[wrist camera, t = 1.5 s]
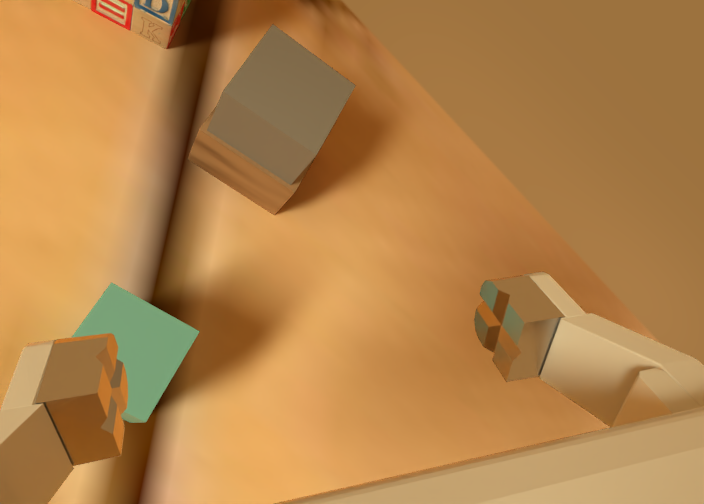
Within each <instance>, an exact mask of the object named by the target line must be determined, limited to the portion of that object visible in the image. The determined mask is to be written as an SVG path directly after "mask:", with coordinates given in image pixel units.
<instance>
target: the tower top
mask: <svg viewBox="0 0 704 504" xmlns="http://www.w3.org/2000/svg"><path fill="white" fill-rule="evenodd" d="M355 86H356V85H354V84H353V83H352V82H350V81H349V80H348V79H346V78H345V77H344V76H342V75H341V74H339V73H338V72H337V71H335V70H334V69H333V68H331V67H330V66H329V65H327V64H326V63H325V62H323V61H322V60H321V59H319V58H318V57H317V56H315V55H314V54H312V53H311V52H310V51H308V50H307V49H306V48H304V47H303V46H302V45H300V44H299V43H298V42H296V41H295V40H294V39H292V38H291V37H290V36H288V35H287V34H285V33H284V32H283V31H281V30H280V29H279V28H277V27H276V26H275V25H273V24H272V26H271V27H270V28H269V30H268V31H267V33H266V34H265V35H264V37H263V38H262V39H261V41H260V42H259V43H258V45H257V46H256V47H255V49H254V50H253V51H252V53H251V54H250V55H249V57H248V58H247V60H246V61H245V62H244V64H243V65H242V66H241V68H240V69H239V70H238V72H237V73H236V74H235V76H234V77H233V78H232V80H231V81H230V82H229V84H228V85H227V87H226V88H225V89H224V91H223V92H222V95H221V97H220V100H219V102H218V105H217V107H216V109H215V112H214V114H213V117H212V119H211V122H210V124H209V126H208V129H207V131H209V132H210V133H212V134H213V135H215V136H216V137H218V138H220V139H221V140H223V141H224V142H226V143H227V144H229V145H230V146H232V147H233V148H235V149H236V150H238V151H239V152H241V153H242V154H244V155H245V156H247V157H249V158H250V159H252V160H253V161H255V162H256V163H258V164H259V165H261V166H262V167H264V168H265V169H267V170H268V171H270V172H271V173H273V174H274V175H276V176H278V177H279V178H281V179H282V180H284V181H285V182H287V183H288V184H290V185H291V184H292V183H293V182H294V181H295V179H296V178H297V177H298V176H299V175H300V174H301V173H302V171H303V170H304V169H305V168H306V167H307V166H308V164H309V163H310V162H311V161H312V160H313V159H314V157H315V156H316V155H317V153H318V152H319V150H320V148H321V146H322V145H323V143H324V141H325V139H326V137H327V136H328V134H329V132H330V130H331V129H332V127H333V125H334V123H335V121H336V120H337V118H338V116H339V114H340V113H341V111H342V109H343V107H344V105H345V104H346V102H347V100H348V98H349V97H350V95H351V93H352V91H353V89H354V88H355Z"/></svg>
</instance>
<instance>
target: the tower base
mask: <svg viewBox="0 0 704 504" xmlns="http://www.w3.org/2000/svg"><path fill="white" fill-rule="evenodd" d="M216 107H217V106H216ZM216 107H215V109H216ZM215 109H214V110H213V111H212V113H211V114H210V115H209V117H208V118H207V119H206V121H205V122H204V123H203V125H202V126H201V127H200V129H199V131H198V133H197V136H196V138H195V141H194V144H193V146H192V149H191V151H190V154H189V157H188V160H189V161H191V162H192V163H194V164H196V165H197V166H199V167H200V168H202V169H203V170H205V171H206V172H208V173H210V174H211V175H213V176H214V177H216V178H217V179H219V180H220V181H222V182H223V183H225V184H227V185H228V186H230V187H231V188H233V189H234V190H236V191H237V192H239V193H241V194H242V195H244V196H245V197H247V198H248V199H250V200H251V201H253V202H255V203H256V204H258V205H259V206H261V207H262V208H264V209H265V210H267V211H268V212H270V213H272V214H273V215H275V214H276V213H277V212H278V211H279V210H280V208H281V207H282V206H283V205H284V204H285V203H286V202H287V201H288V200H289V199H290V197H291V196H292V195H293V194H294V193H295V191H296V190H297V188H298V186H299V185H300V183H301V181H302V179H303V178H304V176H305V174H306V172H307V171H308V169H309V167H310V166H311V164H312V162H313V160H314V159H315V157H316V156H315V157H314V159H313V160H312V161H311V162H310V163H309V164H308V166H307V167H306V168H305V169H304V170H303V171H302V173H301V174H300V175H299V176H298V177H297V178H296V179H295V181H294V182H293V183H292V184H291V185H290V184H288V183H287V182H285V181H284V180H282V179H281V178H279V177H278V176H276V175H274V174H273V173H271V172H270V171H268V170H267V169H265V168H264V167H262V166H261V165H259V164H258V163H256V162H255V161H253V160H252V159H250V158H249V157H247V156H245V155H244V154H242V153H241V152H239V151H238V150H236V149H235V148H233V147H232V146H230V145H229V144H227V143H226V142H224V141H223V140H221V139H220V138H218V137H216V136H215V135H213V134H212V133H210V132H209V131H207V129H208V126H209V124H210V122H211V119H212V117H213V114H214V112H215ZM336 121H337V120H336ZM336 121H335V122H336ZM334 124H335V123H334ZM333 126H334V125H333ZM332 128H333V127H332ZM330 131H331V130H330ZM329 133H330V132H329ZM328 135H329V134H328ZM326 138H327V137H326ZM325 140H326V139H325ZM321 147H322V146H321ZM317 154H318V153H317Z"/></svg>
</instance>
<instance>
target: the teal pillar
mask: <svg viewBox="0 0 704 504" xmlns="http://www.w3.org/2000/svg"><path fill="white" fill-rule="evenodd" d="M199 332H200V331H198V330H196V329H194V328H193V327H191V326H189V325H187V324H185V323H184V322H182V321H180V320H178V319H176V318H175V317H173V316H171V315H169V314H167V313H165V312H164V311H162V310H160V309H158V308H156V307H155V306H153V305H151V304H149V303H147V302H146V301H144V300H142V299H140V298H138V297H137V296H135V295H133V294H131V293H129V292H128V291H126V290H124V289H122V288H120V287H119V286H117V285H115V284H113V283H111V284H110V285H109V286H108V288H107V289H106V291H105V292H104V293H103V295H102V296H101V298H100V299H99V300H98V302H97V303H96V304H95V306H94V307H93V309H92V310H91V311H90V313H89V314H88V315H87V317H86V318H85V320H84V321H83V322H82V324H81V325H80V327H79V328H78V329H77V331H76V332H75V333H74V335H73V336H72V338H73V337H82V336H90V335H99V334H107V333H111V334H113V335H114V336H115V339H116V342H117V345H118V352H117V359H118V360H120V361H121V362H123V364H124V367H125V370H126V375H127V381H128V402H127V409H126V410H125V411H124V412H123V413H122V414H121V417H122V419H124V420H126V421H128V422H130V423H136V422H146V421H147V419H148V418H149V416H150V414H151V413H152V411H153V409H154V408H155V406H156V404H157V403H158V401H159V399H160V397H161V396H162V394H163V392H164V391H165V389H166V387H167V386H168V384H169V382H170V381H171V379H172V377H173V376H174V374H175V372H176V371H177V369H178V367H179V366H180V364H181V362H182V360H183V359H184V357H185V355H186V354H187V352H188V350H189V349H190V347H191V345H192V344H193V342H194V340H195V339H196V337H197V335H198V334H199Z"/></svg>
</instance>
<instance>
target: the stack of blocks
mask: <svg viewBox="0 0 704 504" xmlns="http://www.w3.org/2000/svg"><path fill="white" fill-rule="evenodd" d="M73 1H75V2H77V3H79V4H81V5H83V6H85V7H87V8H89V9H91V10H92V11H93V12H95V13H97V14H99V15H101V16H103V17H105V18H107V19H108V20H110V21H112V22H114V23H116V24H118V25H120V26H122V27H124V28H126V29H128V30H130V31H132V32H133V33H135V34H137V35H139V36H141V37H143V38H145V39H147V40H149V41H151V42H153V43H155V44H157V45H159V46H161V47H162V48H165V49H167V48H168V46H169V44H170V42H171V40H172V38H173V36H174V35H175V32H176V30H177V28H178V26H179V24H180V21H181V19H182V17H183V15H184V13H185V12H186V10H187V8H188V6H189V4H190V2H191V0H73Z"/></svg>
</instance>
